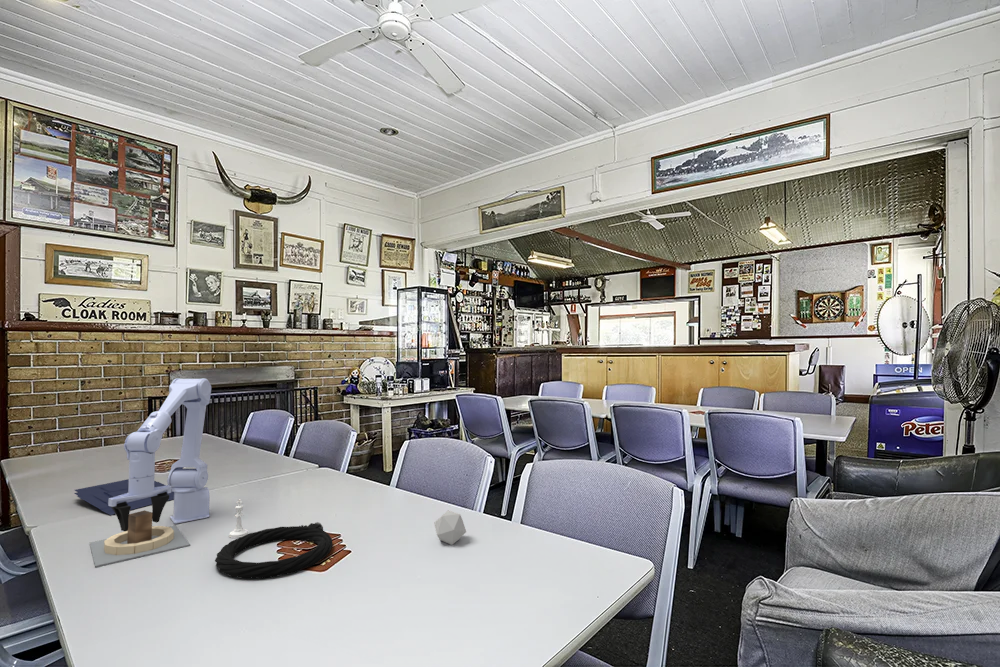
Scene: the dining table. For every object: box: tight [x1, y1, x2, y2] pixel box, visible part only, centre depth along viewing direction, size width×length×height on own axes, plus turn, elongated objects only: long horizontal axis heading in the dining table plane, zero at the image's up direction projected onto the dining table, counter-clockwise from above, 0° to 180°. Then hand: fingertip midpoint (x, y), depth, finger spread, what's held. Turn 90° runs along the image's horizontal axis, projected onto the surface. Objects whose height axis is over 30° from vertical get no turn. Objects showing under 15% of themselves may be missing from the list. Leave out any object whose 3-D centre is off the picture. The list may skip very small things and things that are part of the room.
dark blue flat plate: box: [74, 478, 174, 516], centre depth 175 cm, size 24×30×4 cm
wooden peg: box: [127, 510, 153, 544], centre depth 135 cm, size 4×4×8 cm
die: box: [434, 510, 467, 546], centre depth 138 cm, size 8×9×10 cm
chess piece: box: [228, 498, 249, 539], centre depth 142 cm, size 5×5×10 cm
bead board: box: [89, 524, 191, 568], centre depth 134 cm, size 20×20×2 cm
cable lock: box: [214, 521, 333, 580], centre depth 128 cm, size 28×4×30 cm
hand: (140, 525), depth 134 cm, fingers open, 7 cm apart
